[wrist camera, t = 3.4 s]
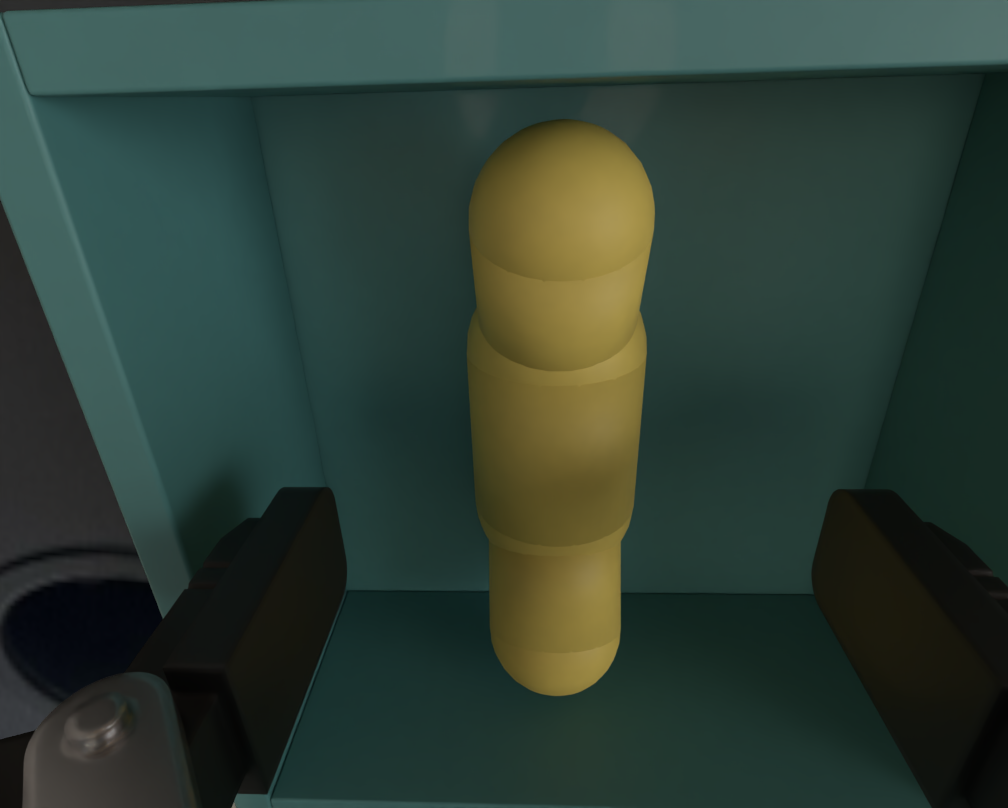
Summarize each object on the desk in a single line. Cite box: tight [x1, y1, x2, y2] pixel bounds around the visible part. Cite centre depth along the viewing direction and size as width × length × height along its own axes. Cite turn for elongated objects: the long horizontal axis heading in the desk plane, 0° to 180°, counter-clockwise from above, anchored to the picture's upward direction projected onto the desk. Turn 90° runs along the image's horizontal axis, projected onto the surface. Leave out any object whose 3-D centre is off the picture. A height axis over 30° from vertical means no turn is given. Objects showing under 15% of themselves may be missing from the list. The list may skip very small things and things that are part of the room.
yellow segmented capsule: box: [467, 119, 655, 696], centre depth 13 cm, size 12×4×5 cm, turn 2°
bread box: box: [0, 0, 1008, 808], centre depth 12 cm, size 15×16×7 cm
